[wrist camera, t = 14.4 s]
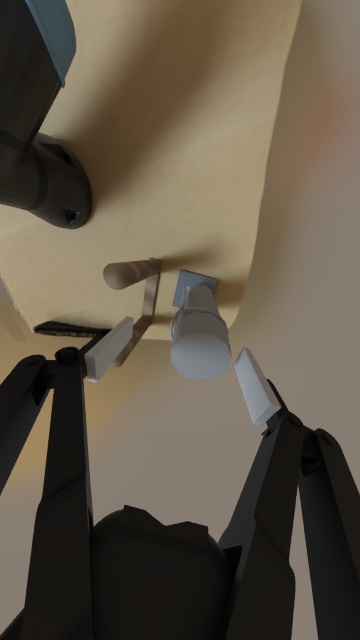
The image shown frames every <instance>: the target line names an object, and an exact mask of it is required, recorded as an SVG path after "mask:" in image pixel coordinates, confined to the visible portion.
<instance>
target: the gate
mask: <svg viewBox="0 0 360 640" xmlns="http://www.w3.org/2000/svg"><path fill="white" fill-rule="evenodd" d="M160 264H161V261H159V260H155V259H151V258H149V260H143V261H132V262H122V263H112V264H108V265H107V266H106V267H105V268H104V271H103V277H104V280H105V282H106V283H107V285H108V286H109V287H111V288H112V289H115V290H121V289H124V288H126V287H128V286H130V285H133V284H135V283H137V282H139V281H142V280H144V279H146V286H145V294H144V303H143V311H142V317H141V318H140V319H139V320H138V321H137V322H136V323H135V324H134V325H133V331H132V338H131V339H130V340H129V342H128V343H127V344H126V345H125V347H124V348H123V349H122V351H121V352H120V353H119V354H118V356H117V357H116V358H115V360H114V361H113V362H112V363H111V366H113V367H120V366H122V364H123V363H124V361H125V360H126V359H127V357H128V356H129V354H130V353H131V351H132V350H133V348H134V347H135V346H136V344H137V343H138V341H139V340H140V339H141V337H142V336H143V334H144V333H145V331H146V330H147V328H148V327H149V326H151V323H152V315H153V308H154V302H155V296H156V289H157V283H158V277H159V271H160Z"/></svg>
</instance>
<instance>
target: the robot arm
mask: <svg viewBox="0 0 360 640" xmlns="http://www.w3.org/2000/svg"><path fill="white" fill-rule="evenodd" d="M75 53H76V35H75V29H74V25H73V21H72V18H71V15H70V12H69V9H68V6H67V4H66V1H65V0H0V204H3V205H7V206H12V207H16V208H20V209H24V210H27V211H29V212H30V213H32V214H34V215H36V216H37V217H39V218H41V219H43V220H45V221H46V222H48V223H50V224H52V225H54V226H57V227H61V228H66V229H76V228H78V227H80V226H82V225H83V224H84V223H85V222H86V221H87V219H88V217H89V215H90V211H91V206H92V195H91V189H90V184H89V181H88V178H87V176H86V173H85V171H84V169H83V167H82V166H81V164H80V162H79V161H78V160H77V158H76V157H75V156H74V155H73V154H72V153H71V152H70V151H69V150H68V149H67V148H66V147H64V146H63V145H62V144H61V143H59V142H58V141H57V140H55V139H54V138H52V137H50V136H48V135H46V134H43V133H40V132H38V131H39V129H40V127H41V125H42V123H43V121H44V119H45V117H46V116H47V114H48V112H49V110H50V108H51V106H52V104H53V102H54V100H55V98H56V96H57V95H58V93H59V91H60V89H61V87H62V88H64V87H65V77H66V75H67V72H68V70H69V68H70V65H71V63H72V60H73V58H74V56H75ZM133 319H134V318H132V317H128V316H127V317H126V318H125V319H124V320H122V321H121V322H120V323H119V324H118V325H117V326H116V327H115V328H114V329H112V330H111V331H110V332H109V333H108V334H107V335H106V336H102V335H99V336H97V337H94V338H93V339H92V340H91V341H90V342H88V343H87V344H86V345H85V346H83V347H82V348H81V349H80V350H78V348H76V347H65V348H62V349H60V350H58V351H57V352H56V353H55V358H56V360H46V358H45V356H43V355H32V356H29V357H26V358H24V359H22V360H21V361H20V362H19V363H18V364H17V365H16V366H15V368H14V369H13V370H12V371H11V373H10V374H9V375H8V376H7V377H6V379H5V380H4V381H3V382H2V384H1V385H0V495H1V493H2V490H3V488H4V486H5V484H6V482H7V480H8V478H9V476H10V474H11V471H12V469H13V467H14V465H15V463H16V461H17V459H18V457H19V454H20V452H21V450H22V448H23V446H24V444H25V442H26V440H27V437H28V435H29V433H30V431H31V429H32V427H33V425H34V423H35V420H36V418H37V416H38V414H39V412H40V410H41V408H42V406H43V404H44V402H45V399H46V397H47V395H48V393H49V391H50V389H54V394H53V403H52V413H51V422H50V432H49V440H48V450H47V459H46V468H45V477H44V486H43V494H42V499H41V501H40V503H39V505H38V509H37V513H36V519H35V525H34V534H33V542H32V550H31V558H30V566H29V574H28V582H27V590H26V599H25V607H24V608H23V610H22V611H21V612H20V613H19V614H18V615H17V617H16V618H15V619H14V620H13V621H12V623H11V624H10V625H9V626H8V627H7V628H6V629H5V631H4V632H3V633H2V634H1V635H0V640H291V634H292V623H293V612H294V600H295V576H294V572H293V570H292V568H291V566H290V564H289V554H290V545H291V537H292V529H293V520H294V512H295V504H296V496H297V488H298V486H299V493H300V501H301V508H302V516H303V524H304V532H305V540H306V547H307V555H308V563H309V570H310V578H311V586H312V593H313V602H314V609H315V617H316V625H317V633H318V640H360V494H359V492H358V489H357V487H356V484H355V482H354V479H353V477H352V474H351V472H350V469H349V467H348V464H347V462H346V459H345V457H344V454H343V452H342V449H341V447H340V445H339V444H338V442H337V441H336V440H335V438H334V437H333V436H332V435H331V434H329V433H328V432H326V431H325V430H323V429H320V428H318V429H316V430H315V431H313V430H311V429H310V428H308V427H306V426H304V425H303V423H302V422H301V420H300V419H299V418H298V417H297V416H296V415H294V414H293V413H291V412H289V411H288V409H287V407H286V405H285V403H284V402H283V400H282V398H281V397H280V395H279V393H278V391H277V390H276V388H275V386H274V385H273V383H272V382H271V381H270V380H269V379H266V378H265V376H264V374H263V372H262V370H261V368H260V367H259V365H258V363H257V361H256V359H255V357H254V356H253V354H252V352H251V350H250V349H248V348H245V347H243V349H242V351H241V352H240V354H239V356H238V358H237V359H236V361H235V363H234V367H235V370H236V373H237V376H238V379H239V382H240V385H241V388H242V391H243V395H244V398H245V401H246V404H247V407H248V410H249V413H250V416H251V419H252V422H253V424H256V425H259V426H263V425H264V424H265V423H267V426H268V428H267V429H266V430H265V431H264V432H263V433H262V434H261V435H264V436H263V439H262V441H261V444H260V446H259V449H258V452H257V454H256V457H255V459H254V462H253V464H252V467H251V470H250V472H249V475H248V477H247V480H246V482H245V485H244V488H243V490H242V492H241V495H240V498H239V500H238V503H237V506H236V508H235V510H234V513H233V516H232V518H231V521H230V523H229V525H228V527H227V528H226V530H225V531H224V533H223V534H222V536H221V538H220V540H219V542H218V544H217V542H216V541H215V540H214V539H213V538H212V537H211V536H210V535H209V534H208V527H207V526H204V525H200V524H196V523H192V522H189V521H186V522H182V523H177V524H173V525H168V526H165V525H163V524H162V523H160V522H159V521H158V520H157V519H155V518H154V517H153V516H151V515H150V514H149V513H148V512H147V511H146V510H142V509H139V508H135V507H131V506H128V505H124V508H123V510H118V511H115V512H113V513H111V514H109V515H107V516H106V517H104V518H103V519H102V520H101V521H99V522H98V523H97V524H96V525H95V526H94V523H93V509H92V498H91V487H90V473H89V458H88V444H87V430H86V429H87V427H86V412H85V397H84V382H83V379H84V378H85V377H86V376H87V379H88V380H89V381H93V382H97V381H98V380H99V379H100V378H101V376H102V375H103V374H104V372H105V371H106V370H107V368H108V367H109V366H110V365H111V363H112V362H113V361H114V360H115V358H116V357H117V356H118V354H119V353H120V352H121V351H122V349H123V348H124V347H125V345H126V344H127V343H128V342H129V340H130V339H131V338H132V331H133Z"/></svg>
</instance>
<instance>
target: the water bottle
mask: <svg viewBox="0 0 360 640" xmlns="http://www.w3.org/2000/svg"><path fill="white" fill-rule="evenodd" d="M185 288H186V289H187V291H188V292H187V295H186V297H185V300H184V295H185ZM177 316H179V318H178V321H177V324H176V326H175V328H174V334H173V333H172V327H173V323H174V320H175V319H176V317H177ZM170 336H171V339H172V348H171V362H172V363H173V365H174V367H175V368H176V370H177V371H178V372H179V373H181V374H183V375H184V376H186V377H188V378H190V379H197V380H208V379H213V378H216V377H218V376H220V375H221V374H222V373H224V372H225V371H226V370H227V369H228V367H229V364H230V360H231V357H232V356H231V350H230V345H229V338H228V330H227V326H226V323H225V321H224V320H223V319H222V317H221V316H220V314H219V312H218V309H217V306H216V303H215V300H214V297H213V294H212V292H211V289H210V288H208V287H207V286H206V285H200V284H197V285H195V286H193V287H191V288H190V287H189V286H188V285H185V286H184V287H183V288H182V295H181V303H180V310H179V311H178V312H176V315H175V316H174V317H173V318H172V321H171V324H170Z"/></svg>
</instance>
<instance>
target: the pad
mask: <svg viewBox="0 0 360 640" xmlns="http://www.w3.org/2000/svg"><path fill="white" fill-rule="evenodd" d="M217 282H218V280H217V279H213V278H209V277H206V276H202V275H198V274H194V273H191V272H187V271H183V270H180V274H179V278H178V283H177V287H176V292H175V296H174V301H173V305H172V306H175V307H179V308H180V303H181V295H182V288H183V287H184V286H185V285H188V286H189V287H190V288H191V287H193V286H195V285H197V284H200V285H206V286H207V287H208V288H210V289H211V292H212V294H213V293H214V291H215V288H216V285H217ZM187 292H188V291H187V289H186V288H185V295H184V300H185V297H186V295H187Z"/></svg>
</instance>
